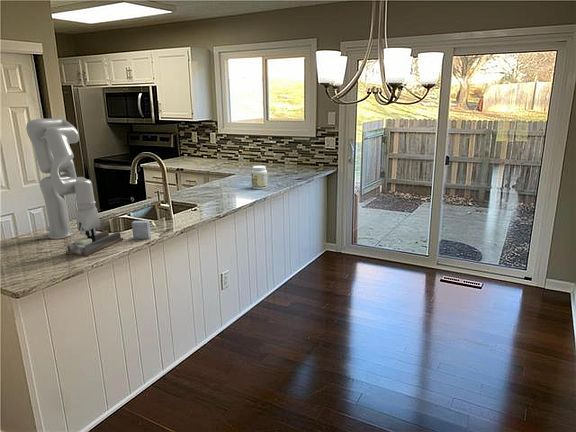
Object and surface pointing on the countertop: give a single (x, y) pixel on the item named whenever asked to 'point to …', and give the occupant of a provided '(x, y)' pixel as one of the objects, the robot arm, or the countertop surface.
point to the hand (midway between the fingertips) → (91, 242)
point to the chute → (95, 244)
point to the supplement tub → (259, 177)
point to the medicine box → (141, 230)
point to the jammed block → (83, 241)
